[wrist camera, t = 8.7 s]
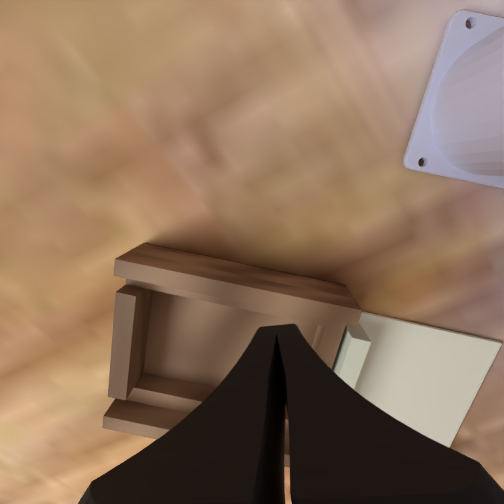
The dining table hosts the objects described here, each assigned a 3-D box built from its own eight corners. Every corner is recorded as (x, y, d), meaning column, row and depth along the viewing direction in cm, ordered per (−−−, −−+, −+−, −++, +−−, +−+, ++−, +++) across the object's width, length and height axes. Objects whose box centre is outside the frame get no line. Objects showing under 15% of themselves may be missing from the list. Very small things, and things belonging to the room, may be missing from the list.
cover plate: (493, 337, 21) (534, 366, 18) (442, 438, 23) (470, 481, 20) (342, 304, 21) (355, 327, 18) (308, 409, 23) (314, 446, 20)
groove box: (345, 285, 20) (362, 310, 16) (302, 423, 23) (308, 471, 19) (143, 243, 20) (114, 258, 16) (129, 387, 23) (102, 428, 19)
